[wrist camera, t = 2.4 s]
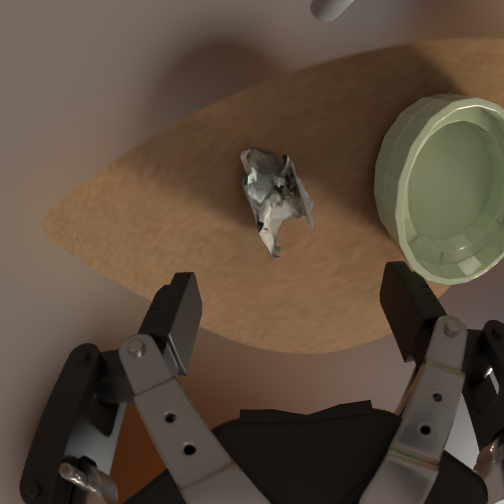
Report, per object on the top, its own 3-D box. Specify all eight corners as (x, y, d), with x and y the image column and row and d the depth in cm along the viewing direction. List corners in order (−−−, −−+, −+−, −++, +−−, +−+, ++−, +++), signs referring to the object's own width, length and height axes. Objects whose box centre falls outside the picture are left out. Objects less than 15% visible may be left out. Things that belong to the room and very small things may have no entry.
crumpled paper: (271, 241, 24) (272, 294, 18) (235, 152, 20) (222, 177, 14) (319, 226, 23) (337, 275, 17) (289, 133, 19) (301, 150, 13)
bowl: (371, 82, 17) (400, 79, 12) (505, 111, 15) (540, 121, 11) (364, 258, 24) (381, 292, 20) (483, 249, 23) (507, 275, 19)
